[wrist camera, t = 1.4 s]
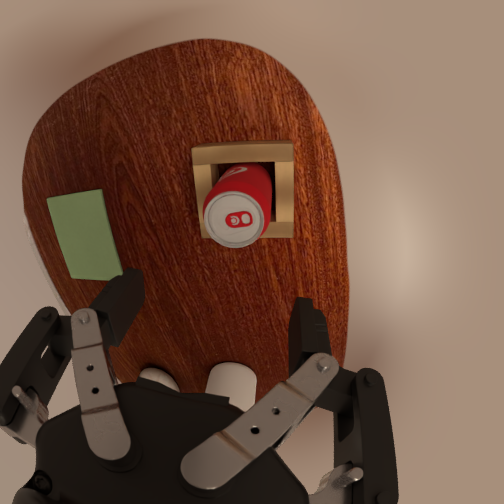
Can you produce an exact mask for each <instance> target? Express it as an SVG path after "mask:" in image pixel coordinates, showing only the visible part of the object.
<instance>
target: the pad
mask: <svg viewBox="0 0 504 504" xmlns="http://www.w3.org/2000/svg"><path fill="white" fill-rule="evenodd" d="M47 203H48V207H49V211H50V214H51V218H52V221H53V225H54V228H55V232H56V235H57V238H58V241H59V244H60V247H61V250H62V253H63V256H64V259H65V261H66V264H67V267H68V269H69V272H70V275H71V277H72V278H78V279H92V280H108V281H110V280H111V279H112V278H114V277H115V276H117V275H122V274H123V270H122V267H121V263H120V260H119V257H118V253H117V250H116V246H115V243H114V239H113V235H112V231H111V227H110V223H109V219H108V215H107V211H106V206H105V202H104V197H103V193H102V189H98V190H91V191H85V192H78V193H73V194H67V195H61V196H56V197H50V198H47Z"/></svg>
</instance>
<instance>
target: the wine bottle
mask: <svg viewBox="0 0 504 504" xmlns="http://www.w3.org/2000/svg"><path fill="white" fill-rule="evenodd" d="M255 392H256V376H255V374H254V372H253V371H252V370H251V369H250V368H248V367H247V366H245V365H242V364H239V363H233V362H226V363H221V364H218V365H216V366H215V367H213V369H212V370H211V372H210V375H209V379H208V383H207V387H206V392H205V393H209V394H215V395H220V396H226V397H230V400H229V403H230V404H232V405H234V406H236V407H238V408H240V409H241V410H243V411H244V412H246V411H247V410H248V409H250V408H251V407H252V406H253V405H254V402H255Z"/></svg>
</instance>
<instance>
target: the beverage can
mask: <svg viewBox="0 0 504 504" xmlns="http://www.w3.org/2000/svg"><path fill="white" fill-rule="evenodd" d="M271 202H272V180H271V177H270V175H269V173H268V171H267V170H266V169H265V168H264V167H263V166H261V165H260V164H258V163H255V162H242V163H235V164H233V165H232V166H230V167H229V168H228V169H227V170H226V172H225V173H224V174H223V175H222V177H221V178H220V179H219V180H218V182H217V183H216V184H215V186H214V187H213V188H212V189H211V191H210V192H209V193H208V195H207V196H206V198H205V201H204V204H203V211H202V213H203V220H204V224H205V227H206V230H207V232H208V233H209V235H210V236H211V237H212V238H213V239H214V240H215V241H216V242H218V243H219V244H221V245H223V246H226V247H231V248H240V247H245V246H247V245H250V244H251V243H253V242H254V241H256V240H257V239H258V238H260V237H261V236H262V235H263V234H264V232H265V231H266V229H267V228H268V225H269V223H270V218H271Z"/></svg>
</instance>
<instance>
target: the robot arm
mask: <svg viewBox="0 0 504 504" xmlns="http://www.w3.org/2000/svg"><path fill="white" fill-rule="evenodd" d="M144 299H145V289H144V280H143V272H142V270H139V269H134V268H129V267H128V268H127V269H126V270H125V271H124V273H123V274H122V275H117V276H115V277H114V278H112V279H111V280H110V281H109V282H108V283H107V284H106V287H104V288H103V289H102V292H100V293H99V295H98V296H97V297H96V298H95V300H94V301H93V302H92V304H91V305H90V306H89V307H88V308H82V309H79V310H77V311H76V312H74V313H73V315H72V316H60V315H59V314H58V311H57V309H56V308H54V307H50V306H49V307H44V308H42V309H40V310H39V311H38V312H37V313H36V314H35V316H34V317H33V318H32V320H31V321H30V322H29V324H28V325H27V326H26V328H25V329H24V330H23V332H22V333H21V335H20V336H19V338H18V339H17V340H16V342H15V343H14V345H13V346H12V348H11V349H10V351H9V352H8V354H7V355H6V357H5V358H4V360H3V361H2V363H1V365H0V428H1V429H2V430H4V431H5V432H6V433H7V434H8V435H10V436H12V437H13V438H14V439H15V440H17V441H18V442H19V443H21V444H29V445H31V446H32V447H34V448H36V468H35V472H34V474H33V476H32V477H31V479H30V480H29V481H28V482H27V483H26V484H25V485H24V486H23V487H22V488H20V489H19V490H18V491H17V493H16V494H15V497H14V499H13V503H12V504H397V502H398V497H399V494H398V478H397V467H396V456H395V447H394V439H393V432H392V425H391V419H390V413H389V406H388V400H387V395H386V390H385V385H384V380H383V377H382V376H381V374H380V373H378V372H377V371H376V370H374V369H371V368H363V369H361V370H359V371H358V372H357V373H355V372H352V371H349V370H346V369H343V368H342V367H340V366H339V364H338V362H337V360H336V359H335V358H334V357H333V356H332V354H331V347H330V341H329V335H328V329H327V323H326V318H325V316H324V314H323V313H322V312H321V310H318V309H313V303H312V299H311V298H303V297H297V298H296V300H295V304H294V307H293V311H292V314H291V317H290V321H289V328H288V340H289V379H288V380H287V381H285V382H284V381H281V382H279V383H278V384H277V385H276V386H275V387H274V388H272V389H271V390H270V391H269V392H268V393H267V394H266V395H265V396H264V397H262V398H261V399H260V400H259V401H258V402H257V403H255V404H254V405H253V406H252V407H251V408H250V409H248V410H247V411H246V412H244V411H243V410H241V409H240V408H238V407H236V406H234V405H232V404H230V403H229V400H230V397H226V396H220V395H215V394H209V393H180V392H178V391H176V390H174V389H172V388H170V387H168V386H166V385H164V384H162V383H160V382H157V381H153V380H149V379H146V378H142V377H139V376H138V378H137V380H136V382H127V383H122V384H118V381H117V378H116V375H115V372H114V368H113V365H112V361H111V357H110V354H109V350H108V349H109V347H110V345H112V346H115V347H119V345H120V343H121V341H122V340H123V338H124V336H125V334H126V333H127V331H128V329H129V327H130V325H131V324H132V322H133V320H134V319H135V317H136V315H137V313H138V312H139V310H140V308H141V307H142V305H143V303H144ZM46 346H48V348H47V350H46V352H45V353H44V355H43V357H42V358H41V355H42V353H43V351H44V350H45V348H46ZM71 358H72V362H73V369H74V375H75V381H76V387H77V392H78V396H79V401H80V404H79V405H77V406H75V407H73V408H71V409H69V410H67V411H65V412H64V413H62V414H60V415H57V416H55V417H53V418H51V419H50V420H48V415H49V414H48V413H49V412H48V408H47V405H48V403H49V401H50V399H51V397H52V395H53V393H54V391H55V389H56V386H57V384H58V382H59V380H60V379H61V377H62V375H63V373H64V371H65V369H66V367H67V365H68V363H69V362H70V360H71ZM316 406H317V407H320V408H323V409H326V410H329V411H332V412H333V415H334V469H333V470H331V471H330V472H328V473H327V474H326V475H324V476H323V477H322V479H321V481H320V484H319V487H318V490H317V491H316V492H315V493H314V494H312V495H308V493H307V491H306V489H305V487H304V486H303V485H302V483H301V482H300V481H299V480H298V479H297V478H296V476H295V475H294V474H293V473H292V471H291V470H290V469H289V468H288V466H287V465H286V464H285V463H284V461H283V460H282V459H281V457H280V456H279V455H278V454H277V452H276V450H277V449H278V448H279V447H280V446H281V445H282V444H283V443H284V442H285V441H286V440H287V439H288V437H289V436H290V435H291V434H292V433H293V431H294V430H295V429H296V428H297V427H298V426H299V425H300V424H301V423H302V422H303V420H304V419H305V418H306V417H307V416H308V415H309V414H310V412H311V411H312V410H313V409H314V408H315V407H316Z"/></svg>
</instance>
